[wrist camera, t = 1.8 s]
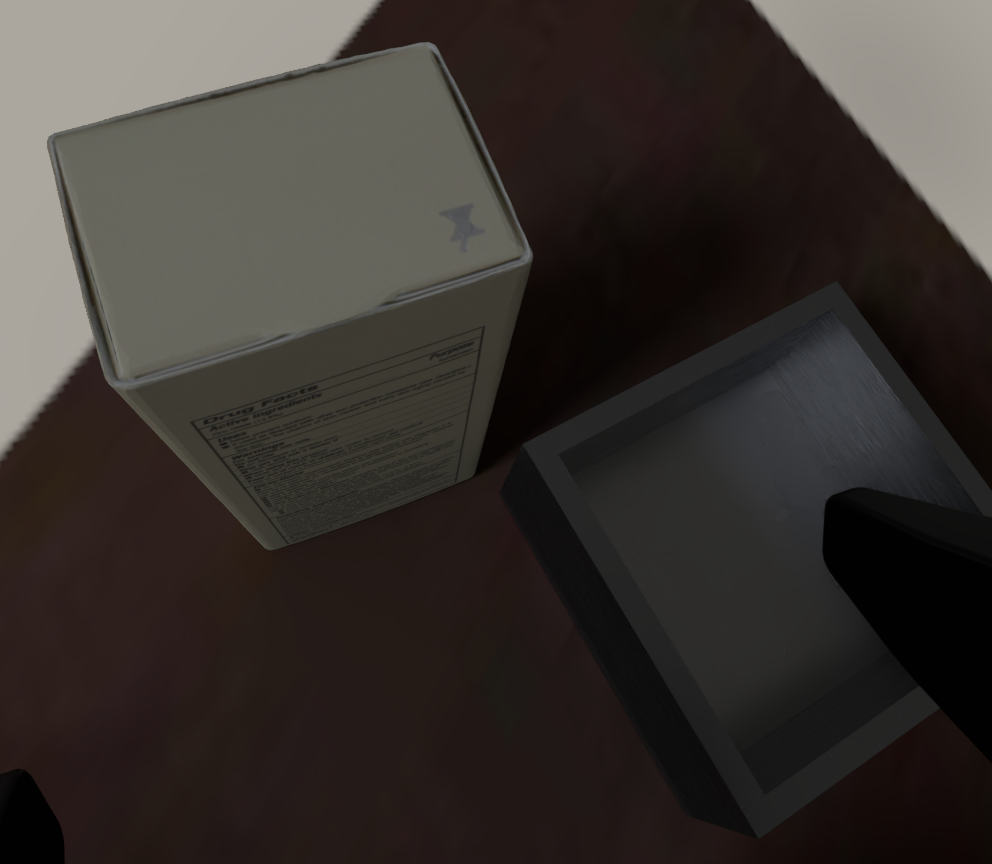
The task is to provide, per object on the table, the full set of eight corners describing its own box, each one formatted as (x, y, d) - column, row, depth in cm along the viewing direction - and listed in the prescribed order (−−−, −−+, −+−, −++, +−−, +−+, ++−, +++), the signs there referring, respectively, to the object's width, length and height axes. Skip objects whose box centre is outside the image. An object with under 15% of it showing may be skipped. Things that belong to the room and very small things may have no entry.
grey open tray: (955, 627, 24) (1077, 607, 19) (685, 815, 21) (759, 838, 17) (764, 352, 26) (836, 281, 22) (499, 493, 23) (522, 444, 19)
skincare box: (425, 347, 25) (454, 23, 13) (478, 481, 23) (561, 254, 12) (208, 415, 23) (28, 119, 12) (254, 560, 22) (103, 390, 11)
